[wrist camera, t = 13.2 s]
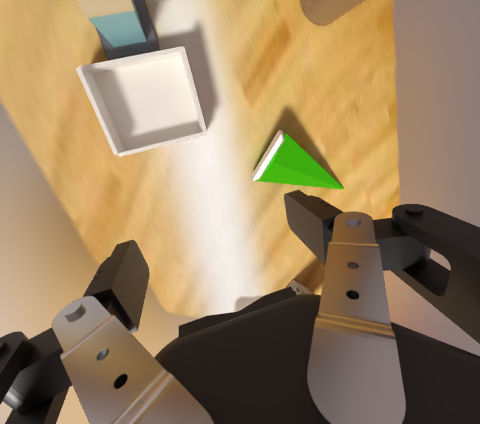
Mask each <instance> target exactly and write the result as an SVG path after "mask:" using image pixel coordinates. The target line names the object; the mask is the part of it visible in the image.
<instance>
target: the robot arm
mask: <svg viewBox="0 0 480 424" xmlns="http://www.w3.org/2000/svg"><path fill="white" fill-rule="evenodd" d="M364 1H365V0H300V2H301V6H302V9H303V11H304V13H305V15H306V16H307V18H308V19H309V20H310V21H311V22H313V23H314V24H317V25H328V24H330V23H332V22H334V21H335V20H337V19H338V18H340V17H341V16H343V15H344V14H346V13H347V12H349V11H350V10H352V9H353V8H355V7H356V6H358V5H359V4H361V3H362V2H364ZM284 201H285V207H286V214H287V221H288V224H289V227H290V228H291V230H292V231H293V232H294V233H295V234H296V235H297V236H298V237H299V239H300V240H301V241H302V242H303V243H304V244H305V245H306V246H307V247H308V248H309V249H310V250H311V251H312V252H313V253H314V254H315V255H316V256H317V258H318V259H319V260H320V261H321V262H322V263H323V264H324V265H325V273H324V279H323V286H322V293H321V295H315V294H295V292H294V291H293V289H292V287H291V286H290V287H287V288H284V289H282V290H279V291H276V292H273V293H270V294H268V295H265V296H263V297H261V298H260V299H258V300H257V301H255V302H253V303H252V304H250V305H248V306H247V307H245V308H244V309H242V310H240V311H238V312H233V313H225V314H218V315H210V316H206V317H203V318H200V319H197V320H195V321H192V322H189V323H186V324H183V325H180V326H179V337H177V338H176V339H174V340H173V341H172V342H170V343H169V344H168V345H167V346H165V347H164V348H163V349H162V350H161V351H160V352H159V353H158V354H157V355H156V356H155V357H153V356H152V355H151V354H150V353H149V352H148V351H147V350H146V349H145V348H144V347H143V345H142V344H141V343H140V342H139V341H138V340H137V339H136V338H135V337H134V336H133V335H132V334H131V333H133V332H135V331H138V327H139V322H140V318H141V313H142V308H143V303H144V299H145V294H146V289H147V285H148V280H149V268H148V265H147V263H146V261H145V259H144V257H143V255H142V253H141V251H140V249H139V247H138V245H137V243H136V242H135V241H134V240H130V241H127V242H124V243H120V244H117V245H116V247H115V249H114V251H113V253H112V255H111V256H110V257H108V258H107V259H106V260H105V261H104V262H103V263H102V264H101V265H100V267H99V269H98V270H97V274H95V276H94V278H93V280H92V281H91V283H90V285H89V287H88V288H87V290H86V292H85V294H84V296H83V297H82V298H80V299H77V300H75V301H73V302H72V303H70V304H69V305H67V306H66V307H65V308H63V310H61V311H60V312H59V313H58V314H57V315H56V317H55V318H54V320H53V322H52V328H50V329H48V330H46V331H44V332H42V333H41V334H39V335H37V336H35V337H33V338H31V339H28V338H27V337H26V336H25V335H24V334H23V333H22V332H13V333H10V334H7V335H5V336H3V337H1V338H0V404H1V403H2V401H3V402H5V403H6V404H7V405H8V406H10V407H11V408H12V409H13V410H12V412H11V414H10V416H9V417H8V419H7V421H6V423H5V424H56V422H57V419H58V416H59V414H60V411H61V408H62V406H63V403H64V400H65V397H66V395H67V392H68V389H69V387H70V386H72V385H73V387H74V389H75V392H76V393H77V396H78V398H79V401H80V403H81V405H82V408H83V410H84V412H85V414H86V416H87V419H88V421H89V423H90V424H480V356H478V355H475V354H472V353H470V352H467V351H465V350H462V349H459V348H457V347H454V346H451V345H449V344H446V343H444V342H441V341H439V340H436V339H434V338H431V337H428V336H426V335H423V334H421V333H418V332H416V331H413V330H411V329H408V328H405V327H403V326H400V325H398V324H395V323H393V322H390V315H389V309H388V302H387V295H386V288H385V282H384V276H383V271H386V270H391V271H392V272H393V273H394V274H395V275H397V276H398V277H399V278H400V279H401V280H403V281H404V282H405V283H406V284H408V285H409V286H410V287H411V288H412V289H414V290H415V291H416V292H417V293H419V294H420V295H421V296H422V297H423V298H425V299H426V300H427V301H428V302H429V303H431V304H432V305H433V306H434V307H435V308H437V309H438V310H439V311H440V312H442V313H443V314H444V315H445V316H447V317H448V318H449V319H450V320H451V321H453V322H454V323H455V324H456V325H458V326H459V327H460V328H461V329H462V330H463V331H465V332H466V333H467V334H468V335H470V336H471V337H472V338H473V339H475V340H476V341H477V342H478V343H479V344H480V228H479V227H477V226H475V225H472V224H470V223H467V222H465V221H462V220H460V219H458V218H455V217H452V216H450V215H448V214H445V213H443V212H440V211H438V210H436V209H433V208H431V207H428V206H424V205H419V204H404V205H399V206H396V207H395V208H393V210H392V218H387V219H379V220H373V219H372V217H371V216H369V215H368V214H365V213H362V212H345V213H344V212H342V211H341V210H339V209H337V208H336V207H334V206H332V205H330V204H329V203H327V202H325V201H324V200H322V199H321V198H319V197H315V196H311V195H310V196H307V195H306V194H304V193H303V192H301V191H300V190H296V191H293V192H289V193H286V194H285V195H284ZM431 249H433V250H434V251H436V252H438V253H439V254H441V255H443V256H444V257H445V258H446V259H447V260H448V261H449V263H450V266H451V271H450V270H448V269H446V268H445V267H443V266H441V265H440V264H438V263H437V262H435V261H434V260H432V259H430V252H431Z"/></svg>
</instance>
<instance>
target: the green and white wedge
mask: <svg viewBox="0 0 480 424" xmlns="http://www.w3.org/2000/svg"><path fill="white" fill-rule="evenodd" d="M251 179H252V180H256V181H263V182H273V183H283V184H293V185H304V186H314V187H324V188H335V189H344V188H343V187H342V186H341V185H340V184H339V183H338V182H337V181H336V180H335V179H334V178H333V177H332V176H331V175H330V174H329V173H328V172H327V171H325V170H324V169H323V168H322V167H321V166H320V165H319V164H318V163H317V162H316V161H315V160H314V159H313V158H312V157H311V156H310V155H309V154H307V153H306V152H305V151H304V150H303V149H302V148H301V147H300V146H299V145H298V144H297V143H296V142H295V141H294V140H293V139H292V138H291V137H289V136H288V135H287V134H286V133H285V134H284V135H283V131H282V130H279V131H278V132H277V134H276V136H275V137H274V139H273V141H272V142H271V144H270V146H269V147H268V149H267V151H266V152H265V154H264V156H263V157H262V159H261V161H260V162H259V164H258V166H257V167H256V169H255V171H254V172H253V174H252V176H251Z"/></svg>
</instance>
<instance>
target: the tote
mask: <svg viewBox="0 0 480 424" xmlns="http://www.w3.org/2000/svg"><path fill="white" fill-rule="evenodd" d="M76 70H77V72H78V75H79V77H80V79H81V81H82V84H83V86H84V88H85V90H86V93H87V95H88V97H89V99H90V102H91V104H92V106H93V108H94V111H95V113H96V115H97V117H98V119H99V122H100V124H101V126H102V128H103V131H104V133H105V135H106V137H107V140H108V142H109V144H110V146H111V149H112V151H113V153H114V155H116V154H118V156H119V157H121V156H125V155H129V154H133V153H137V152H141V151H145V150H149V149H153V148H157V147H161V146H165V145H169V144H173V143H177V142H181V141H184V140H188V139H192V138H196V137H200V136H204V135H207V134H206V132H207V130H206V126H205V122H204V118H203V114H202V111H201V107H200V103H199V99H198V96H197V92H196V88H195V84H194V81H193V77H192V73H191V69H190V65H189V62H188V58H187V54H186V50H185V47H183V46H181V47H176V48H171V49H166V50H161V51H155V52H150V53H145V54H140V55H135V56H130V57H125V58H120V59H114V60H109V61H104V62H99V63H94V64H89V65H84V66H79V68H76Z"/></svg>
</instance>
